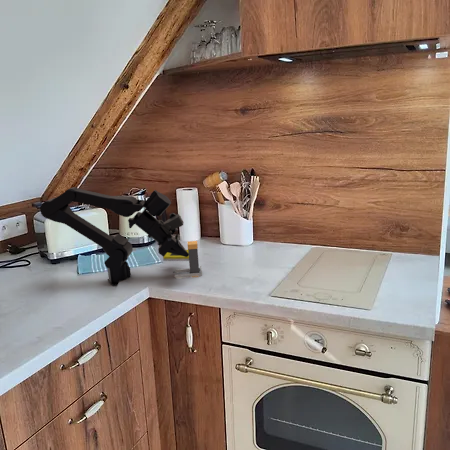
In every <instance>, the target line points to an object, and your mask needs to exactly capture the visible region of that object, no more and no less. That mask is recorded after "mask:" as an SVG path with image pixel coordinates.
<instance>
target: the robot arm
mask: <svg viewBox="0 0 450 450" xmlns="http://www.w3.org/2000/svg"><path fill="white" fill-rule="evenodd" d="M73 202H75V203H81V204H85V205H89V206H93V207H99V208H102V209H107V210H109V211H111V212H113V214H115V215H116V214H117V215H119V216H121V217H123V218H128V217H129V218H128V220H127V222H128V228H129V229H131V228H133V226H134V225H136V227H138V228H139V229H140V230H142V231H143V232H144V233H146V234H147V237H148V238H149V239H151V238H152V239H153V241H155V242H156V243H157V246H158V249H157V251H158V254H159V255H160V256H162V258H163V257H164V256H165V255H166V253H167V252H168V253H173V254H177V255H181V256H184V257H188V255H189V254H188V252H187V251H186V250H187V249H186V248H185V247H184V246H183V244H182V243H181V241H180V238H179V233H177V234H176V235H174V234H175V233H176V232H178V230H179V229H178V228H181V227H182V226H184V221H183V218H182V216H181V215H180V214H179V213H177V214H176V213H175V212H171V213H169V218H168V219H167V220H165V221H163V219H159V220H158V219H157V218H156V216H157V217H161V216H162V215H163V213H164V212H165V211H167V209H168V208H169V207H170V205H171V204H172V201H171V200H170V198H169V197H168V196H167V195H166V194H163V193H161V192H160V191H158V190H156V189H155V190H153V191H152V192H151V194H150V195H149V197H147V198H146V199H137V197H135V196H132V195H109V194H104V193H99V192H95V191H90V190H86V189H81V188H78V187H76V186H73V187H70V188H68V189H66V190H65V191H64V192H63V193H61V194H59V195H58V196H56V197H52V198H50V199H48V200H45V201H44V202H42V203H41V205H40V206H39V207H40V209H39V210H40V214H41V216H42V217H44V218H45V219H47V220H49V221H52V222H54V223H59V224H60V223H61V224H63V225H65V226H68V227H70V228H71V229H72V230H73V231H75V232H76V233H77V232H78V234H80V235H82V236H83V237H85V238H87V239H88V240H89V241H92V242H93V243H94V244H97V245H98V246H99V247H100V248H102V250H103V251H104V253H106V255H107V256H108V257H107V259H105V261H104V265H105V268H107V275H108V278H107V282H108V283H109V284H110V285H111V286H118V285H119V282H121V281H125V280H127V279H129V278H131V277H132V275H131V273H132V272H131V266H130V265H129V262H128V261H127V260H129V256H130V255H132V253H133V251H134V250H133V244H132V243H131V242H130V241H129V240H130V239H128V238H125V237H124V236H122V235H121V234H120V233H117V234H116V235H114V236H113V235H110V234H109V233H107V232H105V231H103V230H102V229H100V228H99V227H97V226H95V225H94V224H93V223H91V222H89V221H88V220H86V219H85V218H83V217H81V216H79V215H78V214H77V213H75V212H74V211H73V210H72V208H71V207H70V204H72V203H73ZM143 208H144V209H143ZM141 210H142V212H140V211H141ZM135 213H136V214H135ZM134 214H135V215H134ZM133 215H134V216H133ZM131 216H132V217H131Z"/></svg>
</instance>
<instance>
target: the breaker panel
mask: <svg viewBox="0 0 450 450" xmlns="http://www.w3.org/2000/svg"><path fill="white" fill-rule="evenodd" d="M202 269H203V268H202V265H199V272H200V273H191V274H190V267H189V268H179V269H178V268H177V269H174V271H172V273H173V274H174V273H175V274H174V279H185V278H199V277H201V276H202V275H203V272H202V271H203V270H202Z"/></svg>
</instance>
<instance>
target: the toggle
mask: <svg viewBox="0 0 450 450" xmlns="http://www.w3.org/2000/svg"><path fill="white" fill-rule="evenodd" d="M198 248H199V247H198V240H194V241H193V240H191V241H187V250H188V253H189V261H188V262H189V263H188V264H189V265H188V266H189V268H190V272H189V274H191V273H200V271H199V268H200V265H199V264H200V263H199V249H198ZM200 274H201V273H200Z"/></svg>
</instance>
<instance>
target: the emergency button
mask: <svg viewBox="0 0 450 450" xmlns="http://www.w3.org/2000/svg"><path fill="white" fill-rule="evenodd" d="M185 250H186V251H187V252H188V249H185ZM188 254H189V253H188ZM162 259H163V261H165V262H167V261H168V262H172V261H173V262H174V261H175V262H178V261H179V262H181V261H182V262H183V261H186V262H189V255H188V257H184V256H181V255H177V254H173V253H168V252H167V253H166V255H165V256H164V257H163V256H162Z"/></svg>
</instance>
